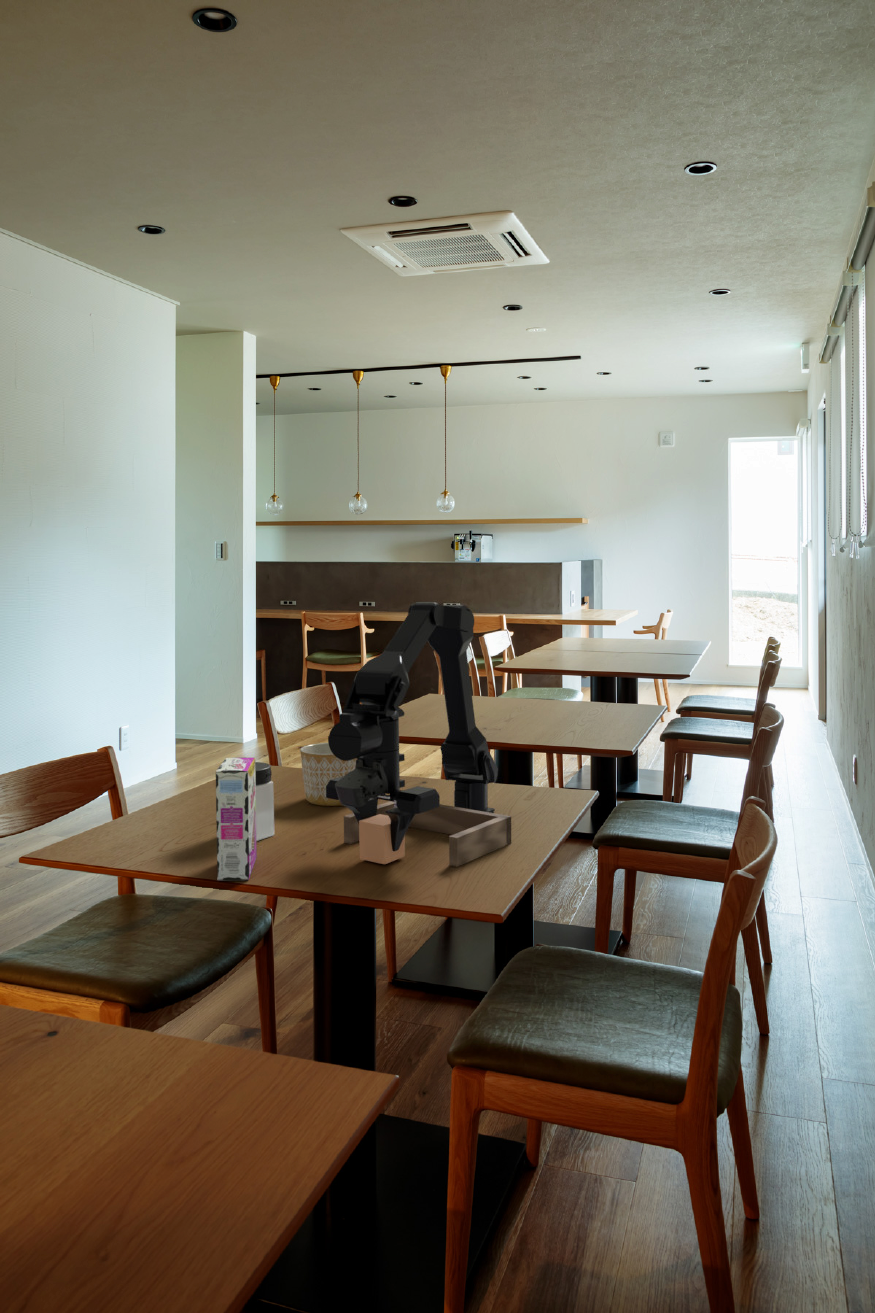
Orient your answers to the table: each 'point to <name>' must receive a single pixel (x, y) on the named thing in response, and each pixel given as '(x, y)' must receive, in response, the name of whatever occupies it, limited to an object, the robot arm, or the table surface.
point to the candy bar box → (236, 818)
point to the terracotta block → (378, 840)
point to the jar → (264, 801)
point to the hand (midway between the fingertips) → (382, 847)
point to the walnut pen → (452, 830)
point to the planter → (322, 772)
